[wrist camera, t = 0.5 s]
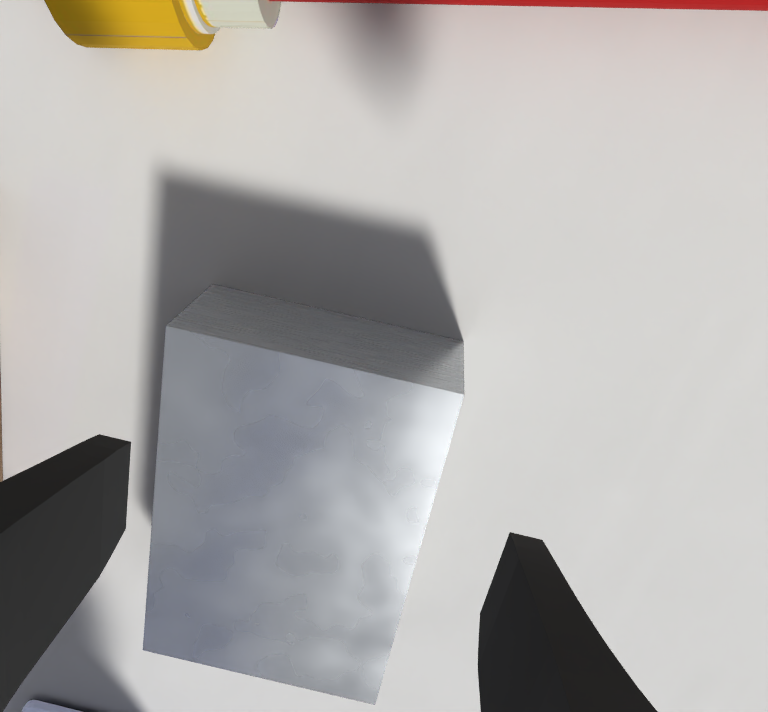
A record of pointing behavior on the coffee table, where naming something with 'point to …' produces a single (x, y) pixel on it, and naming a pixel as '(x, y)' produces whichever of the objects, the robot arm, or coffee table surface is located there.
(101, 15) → the mechanical clamp
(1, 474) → the bench stop
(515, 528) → the coffee table surface
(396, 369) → the grey metal block
